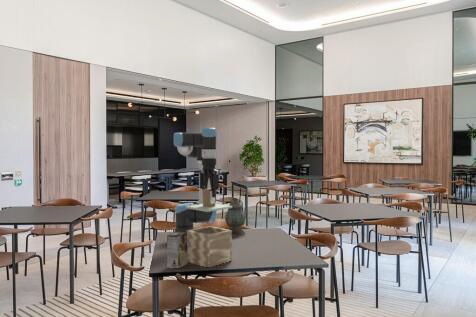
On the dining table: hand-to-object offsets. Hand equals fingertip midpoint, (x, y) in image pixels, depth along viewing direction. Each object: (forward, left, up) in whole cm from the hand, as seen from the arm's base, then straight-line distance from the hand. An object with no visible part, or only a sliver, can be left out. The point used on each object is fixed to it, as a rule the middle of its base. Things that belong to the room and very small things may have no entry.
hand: (209, 202), depth 188 cm
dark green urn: (-37, +57, -30) cm, 74 cm away
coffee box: (-5, -16, -30) cm, 35 cm away
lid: (0, 0, -3) cm, 3 cm away
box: (0, 0, -30) cm, 30 cm away
